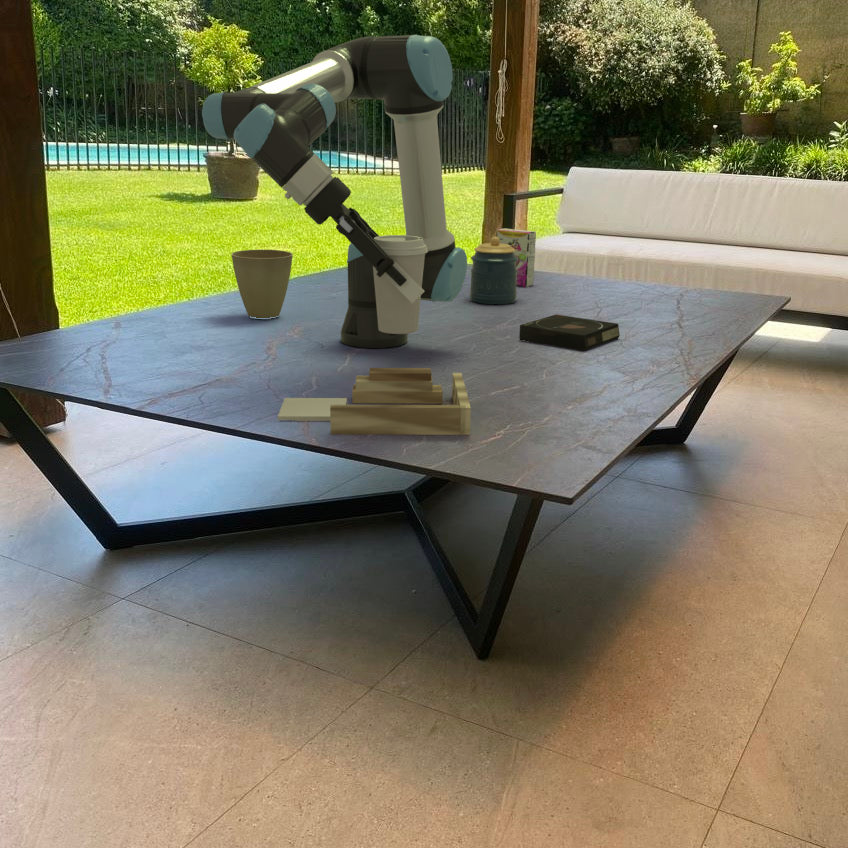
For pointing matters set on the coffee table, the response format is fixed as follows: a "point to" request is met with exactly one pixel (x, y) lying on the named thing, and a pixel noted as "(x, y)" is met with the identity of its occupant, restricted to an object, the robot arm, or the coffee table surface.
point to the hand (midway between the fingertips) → (417, 291)
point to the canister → (494, 273)
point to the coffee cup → (390, 302)
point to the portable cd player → (569, 332)
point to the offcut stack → (397, 387)
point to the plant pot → (262, 280)
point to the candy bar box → (521, 252)
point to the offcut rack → (406, 417)
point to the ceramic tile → (308, 408)
